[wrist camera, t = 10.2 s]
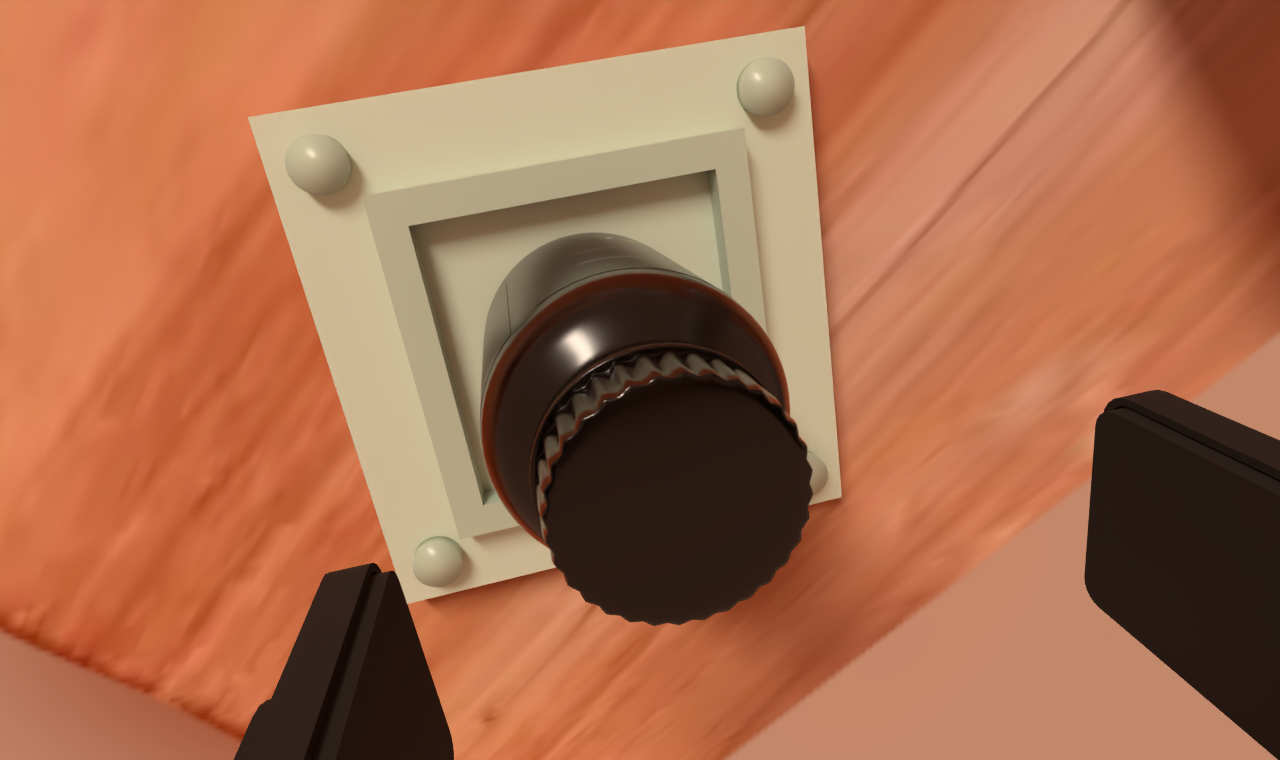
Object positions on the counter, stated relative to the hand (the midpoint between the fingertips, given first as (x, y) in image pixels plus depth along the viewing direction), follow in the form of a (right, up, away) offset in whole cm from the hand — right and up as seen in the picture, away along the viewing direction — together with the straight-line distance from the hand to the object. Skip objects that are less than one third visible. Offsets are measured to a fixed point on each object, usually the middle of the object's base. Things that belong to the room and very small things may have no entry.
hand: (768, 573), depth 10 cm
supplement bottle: (-3, +4, +14) cm, 15 cm away
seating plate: (-3, +4, +15) cm, 16 cm away
